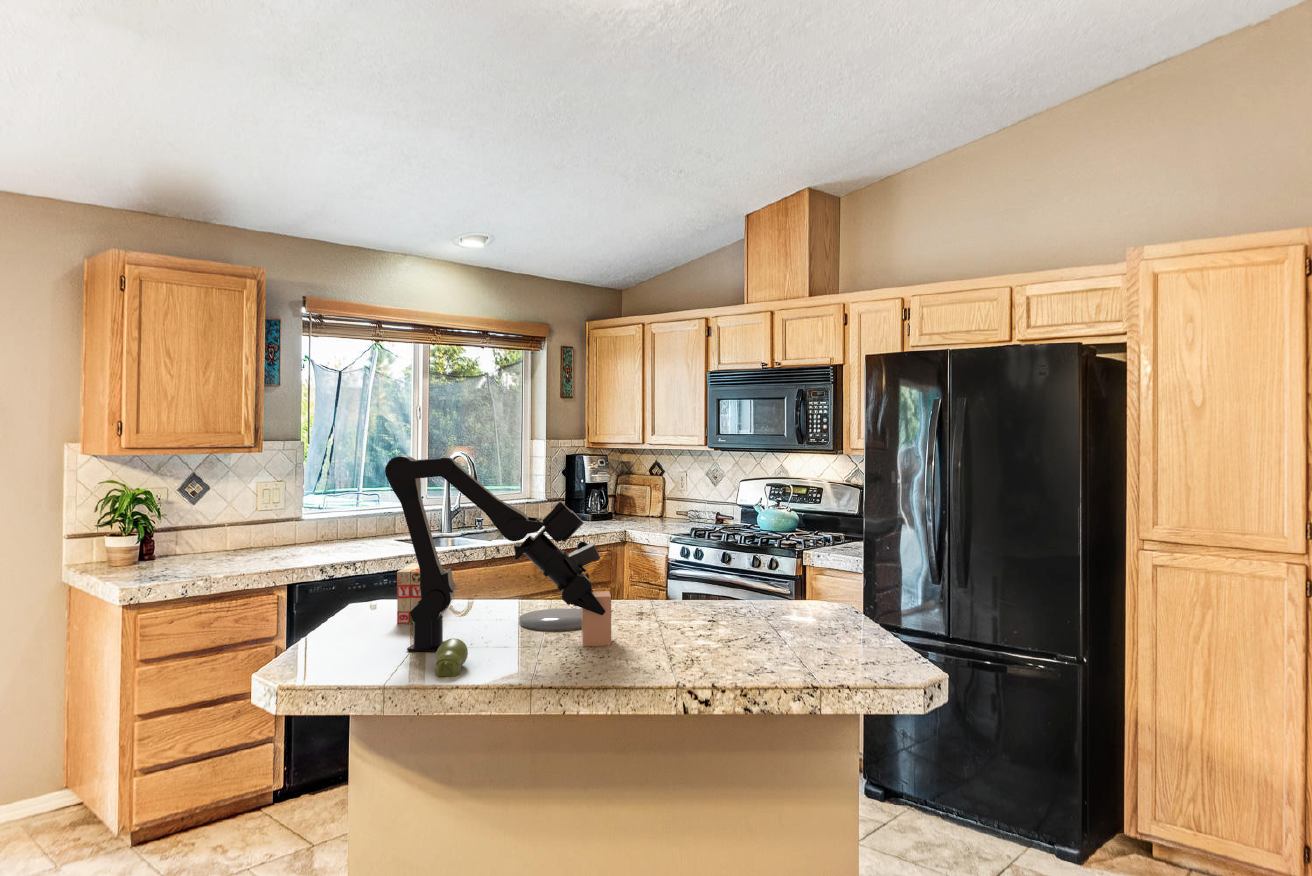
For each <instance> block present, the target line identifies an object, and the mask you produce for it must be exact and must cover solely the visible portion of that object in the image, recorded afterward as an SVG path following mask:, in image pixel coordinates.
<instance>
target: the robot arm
mask: <svg viewBox="0 0 1312 876" xmlns="http://www.w3.org/2000/svg"><path fill="white" fill-rule="evenodd" d="M384 474H385V477H386V480H388V483H389V485H390V487H391V489H392V491H393V492H394V494H395V496H396V497H397V499H398V501H399V502H400V504H401V508H402V511H403V514H404V519H405V521H406V526H407V529H408V532H409V535H410V536H409V537H410V540H411V543H412V547H413V550H414V553H415V557H416V561H417V563H418V565H419V568H420V591H421V600H420V601H419V602H418V603H417V604H416V605H415V607H414V608H413V609H412V610H411V612H410V615H411V617H412V620H413V624H412V625H413V643H412V644H411V645H410V646H408V647H406V651H408V652H409V651H410V652H411V651H412V652H437V650H438V648H439V646H440V645H441V644H442V643H443V642H444V641H445V640H443V639H444V638H443V637H444V636H443V634H444V628H443V627H444V625H443V624H444V622H443V621H444V619H443V618H444V616H443V615H442V613H443V611H445V610H446V609H448V607H449V606H450V604H451V602H452V601H453V598H454V597H455V590H456V588H457V584H456V583H455V581H454V579H453V572H452V568H448V569H446V571H445V570H444V569H445V568H444V567H443V566H442V564H441V562H440V559H439V556H438V553H437V548H436V545H435V541H434V538H433V534H432V531H431V528H430V524H429V521H428V516H427V513H426V510H425V507H424V503H423V500H422V480H421V479H426V478H439V477H441V478H443V479H444V480H445V481H446V482H448V483H449V484H450V485H451V486H452V487H454V489H456V490H457V491H459V492H460V493H461V494H462V495H463V496H464V497H466V499H468V500H469V501H470V502H471V503H473V504H474V505H475V506H476V507H478V508H479V509H480V510H481V511H482V512H484V513H485V515H486V516H487V517H488V518H489V520H490V522H492V524H493V525H494V527H495V528H496V529H497V530H498V531H499V532H500V534H501V535H502V536H503V537H504V538H505V539H506V540H508V541H510V542H519V541H522V540H523V539H525V537H527V535H528V537H527V538H526V539H525V540H524V541H523V542H522V543H521V544H514V546H513V549H514V560H516V561H517V560H519V559H520V558H521V557H522V556H523V555H525V556H526V557H527V558H528V559H529V560H530V561H531V562H532V563H533V564H534V565H535V566H536V567H537V568H538V569H539V570H540V571H541V572H542V574H543V575H544V576H545V578H548V579H550V581H552V583H554V584H555V586H556V587H557V589H558V590H559V591H560V592H561V593H560V594H561V600H562V601H563V602H564V603H565V604H566V605H567V606H570V605H572V606H576V607H577V608H581V609H582V608H584V609H586V610H589V611H592V612H594V613H597V614H599V615H603V614H604V613H605V610H604V608H603V607H602V605H601V604H600V603H599V601H598V600H597V598H596V597H595V596H594V594H593V593H592V592H595V591H594V590H593V588H592V580H591V579H589V578H590V575H589V572H588V571H587V568H586V567H585V566H586V565H588V564H590V563H594V562H597V561H599V560H601V556H600V554H599V552H598V549H597V547H596V545H595V543H594V542H589V543H587V542H586V541H585V540H582V541H580V542H577V546H576V548H577V549H576V550H574V551H572V552H570V553H568V552H567V551H565V550H561V549H560V548H559V547H558V546H557V545H556V544H555V543H554V542H553V541H555V542H556V543H559V542H561V541H562V542H564V543H566V542H567V541H569V539H570V538H571V537H572V536H573V535H574V534H575V533H576V532H577V531H578V530H579V529H580V528H581V527H582V526H583V525H584V524H585V522H584V521H583V520H582V519H581V517H579V516H578V514H577V513H575V512H574V510H572V509H570V508H569V507H567V505H566V504H564V503H563V502H562V501H561V500H560V501H559V500H558V502H557V503H556V504H555V505H554V507H553V508H552V509H551V511H549V513H547V514H546V515H545V517H544V518H540V517H532V516H528V515H527V514H526V513H525V512H523V511H522V510H520V509H518V508H517V507H514V506H513V505H511V504H509V503H507V502H506V501H503V500H502V499H499V498H498V497H497V496H496V495H494V494H493V492H491V491H490V490H489V489H487V488H486V487H485V486H484V485H483V484H481V483H480V482H479V481H478V480H477V479H476V478H474V477H473V476H472V475H471V474H470V473H468V472H467V471H466V470H465V469H463V467H462V466H460V465H459V464H458V463H457V462H456V461H455V459H454V458H453V457H451V456H450V457H449V456H443V457H440V458H426V459H415V458H414V457H412V456H409V455H398V456H395V457H392V458H391V459H390V460H388V461H387V464H386V465H385V467H384ZM534 533H537V534H536V535H535V536H534V537H533V536H532V535H531V534H534ZM545 533H546V534H547V535H548V536H549V537H550V538H551V539H552V540H553V541H552V540H551V539H550V538H549V537H548V536H547V535H546V534H545ZM529 534H530V535H529Z"/></svg>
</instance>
